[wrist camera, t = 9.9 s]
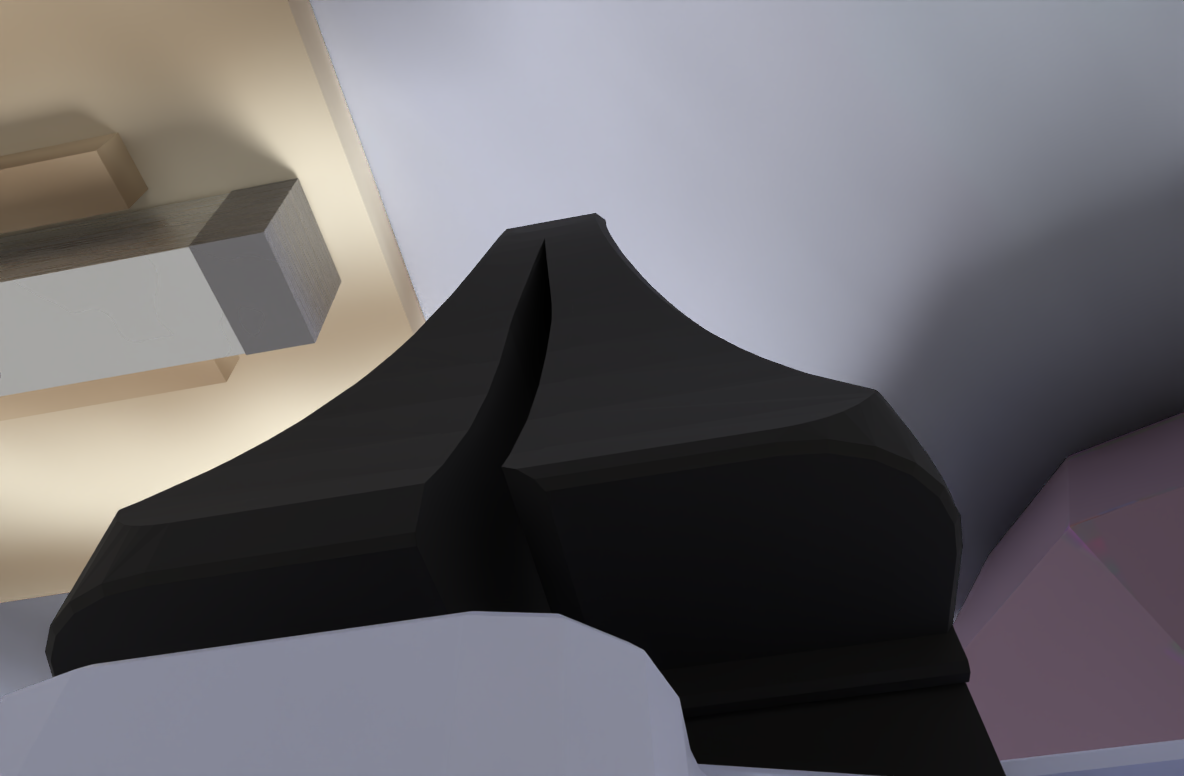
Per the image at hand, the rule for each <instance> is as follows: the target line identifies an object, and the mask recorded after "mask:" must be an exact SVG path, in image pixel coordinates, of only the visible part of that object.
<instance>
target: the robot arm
mask: <svg viewBox="0 0 1184 776" xmlns="http://www.w3.org/2000/svg"><path fill="white" fill-rule="evenodd" d="M962 547H963V544H962V531H961V518H960V514H959V512H958V510H957V508H956V506H955V504H954V502H953V499H952V497H951V494H950V492H949V490H948V488H947V486H946V484H945V482H944V480H943V479H942V477H941V475H940V473H939V472H938V470H937V468H936V467H935V465H934V464H933V462H932V461H931V459H930V457H929V456H928V454H927V453H926V452H925V450H924V449H923V448H922V446H921V445H920V444H919V442H918V441H917V439H916V438H915V437H914V435H913V434H912V433H911V431H910V430H909V429H908V428H907V426H906V425H905V424H904V422H903V421H902V420H901V419H900V417H899V416H898V415H897V414H896V412H895V411H894V410H893V409H892V407H891V406H890V405H889V404H888V402H887V401H886V400H885V399H884V398H883V396H882V395H881V394H880V393H879V392H878V391H876V390H874V389H870V388H866V387H861V386H857V385H853V384H849V383H845V382H840V381H836V380H832V379H828V378H824V377H820V376H815V375H811V374H807V373H804V372H801V371H798V370H795V369H792V368H789V367H787V366H784V365H781V364H778V363H775V362H772V361H770V360H767V359H764V358H762V357H760V356H757V355H755V354H753V353H750V352H748V351H745V350H743V349H741V348H739V347H737V346H735V345H733V344H731V343H729V342H727V341H725V340H724V339H722V338H720V337H718V336H716V335H714V334H712V333H710V332H709V331H707V330H705V329H704V328H702V327H701V326H699V325H698V324H697V323H695V322H694V321H692V320H691V319H690V318H688V317H687V316H685V315H684V314H683V313H682V312H680V311H679V310H678V309H677V308H675V307H674V306H673V305H672V304H671V303H669V302H668V301H667V300H666V299H665V298H664V297H663V296H662V295H661V294H660V293H658V292H657V291H656V290H655V289H654V288H653V287H652V286H651V285H650V284H649V283H648V282H647V281H646V280H645V279H644V278H643V277H642V276H641V274H640V273H639V272H638V271H637V270H636V269H635V267H634V266H633V265H632V264H631V263H630V262H629V260H628V259H627V258H626V257H625V256H624V254H623V253H622V252H621V250H620V249H619V247H618V246H617V244H616V243H615V241H614V240H613V238H612V237H611V235H610V233H609V231H608V229H607V227H606V221H605V219H603V218H602V217H600V216H599V215H598V214H596V213H593V214H588V215H582V216H577V217H571V218H566V219H560V220H555V221H549V222H544V223H538V224H533V225H527V226H522V227H516V228H511V229H506V230H505V231H504V232H503V233H502V235H501V236H500V237H499V238H498V239H497V240H496V242H495V243H494V244H493V245H492V247H491V248H490V249H489V250H488V252H487V253H486V254H485V255H484V257H483V258H482V259H481V260H480V261H479V263H478V264H477V265H476V266H475V268H474V269H473V270H472V271H471V272H470V274H469V275H468V276H467V277H466V278H465V280H464V281H463V282H462V283H461V284H460V285H459V287H458V288H457V289H456V290H455V291H454V293H453V294H452V295H451V296H450V297H449V298H448V299H447V300H446V301H445V302H444V303H443V304H442V305H441V306H440V308H439V309H438V310H437V311H436V312H435V313H434V314H433V315H432V316H431V317H430V318H429V319H428V320H427V321H426V322H425V323H424V324H423V325H422V326H421V327H420V328H419V329H418V331H417V332H416V333H415V334H414V335H413V336H411V337H410V338H409V339H408V340H407V341H406V342H405V343H404V344H403V345H402V346H401V347H400V348H398V349H397V350H396V351H395V352H394V353H393V354H392V355H391V356H389V357H388V358H387V359H386V360H384V361H383V362H382V363H381V364H380V365H378V366H377V367H376V368H375V369H373V370H372V371H371V372H370V373H369V374H367V375H366V376H365V377H363V378H362V379H361V380H359V381H358V382H357V383H356V384H354V385H353V386H351V387H350V388H348V389H347V390H345V391H344V392H342V393H341V394H339V395H338V396H336V397H335V398H334V399H332V400H331V401H329V402H328V403H326V404H325V405H323V406H322V407H320V408H319V409H317V410H316V411H314V412H313V413H311V414H310V415H309V416H307V417H306V418H304V419H302V420H301V421H299V422H298V423H296V424H294V425H293V426H291V427H289V428H287V429H286V430H284V431H282V432H281V433H279V434H277V435H275V436H274V437H272V438H270V439H269V440H267V441H265V442H263V443H261V444H259V445H257V446H256V447H254V448H252V449H250V450H248V451H246V452H244V453H242V454H241V455H239V456H237V457H235V458H233V459H231V460H229V461H227V462H225V463H223V464H221V465H219V466H217V467H215V468H213V469H211V470H209V471H207V472H204V473H202V474H200V475H198V476H195V477H193V478H191V479H189V480H187V481H184V482H182V483H180V484H178V485H175V486H173V487H171V488H169V489H166V490H164V491H162V492H160V493H157V494H155V495H153V496H151V497H148V498H146V499H144V500H142V501H139V502H137V503H134V504H132V505H130V506H127V507H125V508H122V509H120V510H118V512H117V513H116V515H115V517H114V518H113V520H112V522H111V524H110V525H109V527H108V529H107V530H106V532H105V534H104V535H103V537H102V539H101V540H100V542H99V544H98V546H97V547H96V549H95V551H94V552H93V554H92V556H91V557H90V559H89V561H88V562H87V564H86V566H85V568H84V569H83V571H82V573H81V574H80V576H79V578H78V579H77V581H76V583H75V584H74V586H73V588H72V590H71V591H70V593H69V595H68V596H67V598H66V600H65V601H64V603H63V605H62V606H61V608H60V610H59V612H58V613H57V615H56V617H55V618H54V620H53V622H52V623H51V625H50V629H49V635H48V640H47V645H46V650H45V653H46V656H47V660H48V663H49V666H50V670H51V673H52V676H53V678H50V679H47V680H44V681H42V682H39V683H36V684H34V685H31V686H28V687H25V688H23V689H20V690H17V691H14V692H12V693H9V694H6V695H4V697H3V698H2V700H1V702H0V776H1184V739H1182V740H1174V741H1165V742H1156V743H1148V744H1139V745H1131V746H1122V747H1114V748H1105V749H1096V750H1088V751H1079V752H1071V753H1062V754H1053V755H1045V756H1036V757H1028V758H1019V759H1011V760H1002V761H1000V760H999V758H998V756H997V753H996V751H995V749H994V747H993V744H992V742H991V740H990V737H989V735H988V733H987V730H986V728H985V726H984V723H983V721H982V719H981V716H980V714H979V712H978V710H977V707H976V705H975V703H974V700H973V698H972V696H971V693H970V691H969V689H968V686H967V684H966V682H969V680H970V674H971V671H970V666H969V662H968V659H967V656H966V654H965V652H964V650H963V647H962V645H961V643H960V641H959V638H958V636H957V634H956V632H955V629H954V627H953V618H954V610H955V602H956V594H957V586H958V579H959V571H960V563H961V555H962Z"/></svg>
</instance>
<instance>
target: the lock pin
mask: <svg viewBox="0 0 1184 776" xmlns="http://www.w3.org/2000/svg"><path fill="white" fill-rule="evenodd" d="M341 282H342V281H341V279H340V276H339V274H338V271H337V269H336V267H335V264H334V262H333V260H332V257H331V255H330V252H329V250H328V248H327V245H326V243H325V241H324V238H323V236H322V233H321V231H320V229H319V226H318V224H317V222H316V219H315V217H314V214H313V212H312V210H311V207H310V205H309V202H308V200H307V198H306V195H305V193H304V191H303V188H302V186H301V183H300V181H299V179H298V178H296V179H291V180H285V181H280V182H275V183H270V184H265V185H260V186H254V187H249V188H244V189H239V190H234V191H231V192H230V193H226V194H221V195H216V196H211V197H206V198H201V199H195V200H190V201H185V202H180V203H175V204H169V205H164V206H159V207H154V208H149V209H144V210H138V211H133V212H128V213H123V214H118V215H113V216H107V217H102V218H97V219H92V220H87V221H82V222H76V223H71V224H66V225H61V226H56V227H50V228H45V229H40V230H35V231H30V232H25V233H19V234H14V235H9V236H4V237H0V396H6V395H11V394H17V393H23V392H28V391H34V390H40V389H46V388H51V387H57V386H63V385H68V384H74V383H80V382H86V381H91V380H97V379H103V378H109V377H114V376H120V375H126V374H131V373H137V372H143V371H149V370H154V369H160V368H166V367H171V366H177V365H183V364H189V363H194V362H200V361H206V360H211V359H217V358H223V357H229V356H234V355H240V354H246V355H250V354H255V353H261V352H267V351H273V350H278V349H284V348H290V347H296V346H301V345H307V344H313V343H315V342H316V340H317V338H318V335H319V333H320V331H321V328H322V326H323V324H324V321H325V319H326V317H327V314H328V312H329V310H330V307H331V305H332V303H333V300H334V298H335V296H336V293H337V291H338V289H339V286H340V284H341Z"/></svg>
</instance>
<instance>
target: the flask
mask: <svg viewBox="0 0 1184 776" xmlns="http://www.w3.org/2000/svg"><path fill="white" fill-rule="evenodd" d="M953 627H954V629H955V632H956V634H957V636H958V638H959V641H960V643H961V645H962V647H963V650H964V652H965V654H966V656H967V659H968V662H969V666H970V671H971V674H970V680H969V682H966V684H967V686H968V689H969V691H970V693H971V696H972V698H973V700H974V703H975V705H976V707H977V710H978V712H979V714H980V716H981V719H982V721H983V723H984V726H985V728H986V730H987V733H988V735H989V737H990V740H991V742H992V744H993V747H994V749H995V751H996V753H997V756H998V758H999V760H1000V761H1002V760H1011V759H1019V758H1028V757H1036V756H1045V755H1053V754H1062V753H1071V752H1079V751H1088V750H1096V749H1105V748H1114V747H1122V746H1131V745H1139V744H1148V743H1156V742H1165V741H1174V740H1182V739H1184V412H1183V413H1180V414H1177V415H1175V416H1172V417H1170V418H1167V419H1164V420H1162V421H1159V422H1157V423H1154V424H1151V425H1149V426H1146V427H1143V428H1141V429H1138V430H1136V431H1133V432H1130V433H1128V434H1125V435H1122V436H1120V437H1117V438H1115V439H1112V440H1109V441H1107V442H1104V443H1101V444H1099V445H1096V446H1094V447H1091V448H1088V449H1086V450H1083V451H1080V452H1078V453H1075V454H1073V455H1070V456H1068V457H1067V458H1066V459H1065V461H1064V462H1063V463H1062V464H1061V465H1060V467H1059V468H1058V469H1057V470H1056V472H1055V473H1054V474H1053V475H1052V477H1051V478H1050V479H1049V480H1048V482H1047V483H1046V484H1045V485H1044V487H1043V488H1042V489H1041V490H1040V492H1039V493H1038V494H1037V495H1036V497H1035V498H1034V499H1033V500H1032V502H1031V503H1030V504H1029V505H1028V507H1027V508H1026V509H1025V510H1024V512H1023V513H1022V514H1021V515H1020V517H1019V518H1018V519H1017V520H1016V522H1015V523H1014V524H1013V525H1012V527H1011V528H1010V529H1009V530H1008V531H1007V533H1006V534H1005V535H1004V536H1003V538H1002V539H1001V540H1000V541H999V543H998V544H997V545H996V546H995V548H994V549H993V550H992V551H991V553H990V554H989V555H988V557H987V559H986V561H985V563H984V565H983V567H982V569H981V571H980V573H979V575H978V577H977V579H976V581H975V583H974V585H973V587H972V589H971V591H970V593H969V595H968V597H967V598H966V600H965V602H964V604H963V606H962V608H961V610H960V612H959V614H958V616H957V618H956V620H955V622H954V624H953Z"/></svg>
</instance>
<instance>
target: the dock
mask: <svg viewBox="0 0 1184 776" xmlns="http://www.w3.org/2000/svg"><path fill="white" fill-rule="evenodd" d="M296 178H298V179H299V181H300V183H301V186H302V188H303V191H304V193H305V195H306V198H307V200H308V202H309V205H310V207H311V210H312V212H313V214H314V217H315V219H316V222H317V224H318V226H319V229H320V231H321V233H322V236H323V238H324V241H325V243H326V245H327V248H328V250H329V252H330V255H331V257H332V260H333V262H334V264H335V267H336V269H337V271H338V274H339V276H340V279H341V281H342V282H341V284H340V286H339V289H338V291H337V293H336V296H335V298H334V300H333V303H332V305H331V307H330V310H329V312H328V314H327V317H326V319H325V321H324V324H323V326H322V328H321V331H320V333H319V335H318V338H317V340H316V342H315V343H313V344H307V345H301V346H296V347H290V348H284V349H278V350H273V351H267V352H261V353H255V354H250V355H246V354H240V355H234V356H229V357H223V358H217V359H211V360H206V361H200V362H194V363H189V364H183V365H177V366H171V367H166V368H160V369H154V370H149V371H143V372H137V373H131V374H126V375H120V376H114V377H109V378H103V379H97V380H91V381H86V382H80V383H74V384H68V385H63V386H57V387H51V388H46V389H40V390H34V391H28V392H23V393H17V394H11V395H6V396H0V603H3V602H10V601H16V600H23V599H29V598H36V597H43V596H49V595H56V594H63V593H69V592H70V591H71V590H72V588H73V586H74V584H75V583H76V581H77V579H78V578H79V576H80V574H81V573H82V571H83V569H84V568H85V566H86V564H87V562H88V561H89V559H90V557H91V556H92V554H93V552H94V551H95V549H96V547H97V546H98V544H99V542H100V540H101V539H102V537H103V535H104V534H105V532H106V530H107V529H108V527H109V525H110V524H111V522H112V520H113V518H114V517H115V515H116V513H117V512H118V510H120V509H122V508H125V507H127V506H130V505H132V504H134V503H137V502H139V501H142V500H144V499H146V498H148V497H151V496H153V495H155V494H157V493H160V492H162V491H164V490H166V489H169V488H171V487H173V486H175V485H178V484H180V483H182V482H184V481H187V480H189V479H191V478H193V477H195V476H198V475H200V474H202V473H204V472H207V471H209V470H211V469H213V468H215V467H217V466H219V465H221V464H223V463H225V462H227V461H229V460H231V459H233V458H235V457H237V456H239V455H241V454H242V453H244V452H246V451H248V450H250V449H252V448H254V447H256V446H257V445H259V444H261V443H263V442H265V441H267V440H269V439H270V438H272V437H274V436H275V435H277V434H279V433H281V432H282V431H284V430H286V429H287V428H289V427H291V426H293V425H294V424H296V423H298V422H299V421H301V420H302V419H304V418H306V417H307V416H309V415H310V414H311V413H313V412H314V411H316V410H317V409H319V408H320V407H322V406H323V405H325V404H326V403H328V402H329V401H331V400H332V399H334V398H335V397H336V396H338V395H339V394H341V393H342V392H344V391H345V390H347V389H348V388H350V387H351V386H353V385H354V384H356V383H357V382H358V381H359V380H361V379H362V378H363V377H365V376H366V375H367V374H369V373H370V372H371V371H372V370H373V369H375V368H376V367H377V366H378V365H380V364H381V363H382V362H383V361H384V360H386V359H387V358H388V357H389V356H391V355H392V354H393V353H394V352H395V351H396V350H397V349H398V348H400V347H401V346H402V345H403V344H404V343H405V342H406V341H407V340H408V339H409V338H410V337H411V336H413V335H414V334H415V333H416V332H417V331H418V329H419V328H420V327H421V326H422V325H423V324H424V323H425V322H426V321H425V319H424V316H423V313H422V310H421V308H420V305H419V302H418V299H417V296H416V294H415V291H414V288H413V285H412V283H411V280H410V277H409V274H408V272H407V269H406V266H405V263H404V261H403V258H402V255H401V252H400V250H399V247H398V244H397V241H396V239H395V236H394V233H393V230H392V228H391V225H390V222H389V219H388V217H387V214H386V211H385V208H384V206H383V203H382V200H381V197H380V194H379V192H378V189H377V186H376V183H375V181H374V178H373V175H372V172H371V170H370V167H369V164H368V161H367V159H366V156H365V153H364V150H363V148H362V145H361V142H360V139H359V137H358V134H357V131H356V128H355V126H354V123H353V120H352V117H351V115H350V112H349V109H348V106H347V104H346V101H345V98H344V95H343V92H342V90H341V87H340V84H339V81H338V79H337V76H336V73H335V70H334V68H333V65H332V62H331V59H330V57H329V54H328V51H327V48H326V46H325V43H324V40H323V37H322V35H321V32H320V29H319V26H318V24H317V21H316V18H315V15H314V13H313V10H312V7H311V4H310V2H309V0H0V237H4V236H9V235H14V234H19V233H25V232H30V231H35V230H40V229H45V228H50V227H56V226H61V225H66V224H71V223H76V222H82V221H87V220H92V219H97V218H102V217H107V216H113V215H118V214H123V213H128V212H133V211H138V210H144V209H149V208H154V207H159V206H164V205H169V204H175V203H180V202H185V201H190V200H195V199H201V198H206V197H211V196H216V195H221V194H226V193H230V192H231V191H234V190H239V189H244V188H249V187H254V186H260V185H265V184H270V183H275V182H280V181H285V180H291V179H296Z"/></svg>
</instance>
